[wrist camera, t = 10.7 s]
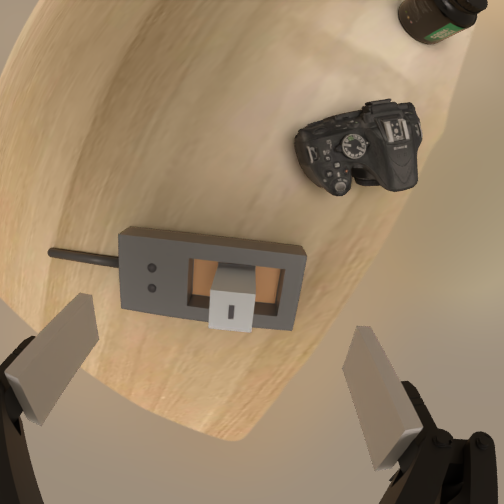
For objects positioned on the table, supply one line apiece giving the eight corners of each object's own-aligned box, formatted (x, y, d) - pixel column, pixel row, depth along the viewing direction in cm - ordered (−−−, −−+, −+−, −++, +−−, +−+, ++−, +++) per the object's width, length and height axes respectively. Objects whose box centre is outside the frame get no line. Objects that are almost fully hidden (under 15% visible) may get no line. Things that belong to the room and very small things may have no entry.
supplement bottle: (432, 54, 27) (490, 30, 15) (389, 22, 26) (437, -18, 14) (446, 24, 25) (498, -3, 13) (406, -7, 24) (449, -46, 12)
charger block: (219, 259, 34) (209, 289, 26) (255, 263, 34) (256, 294, 27) (217, 292, 35) (207, 328, 28) (252, 295, 36) (251, 333, 28)
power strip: (54, 281, 36) (40, 291, 32) (48, 218, 33) (32, 224, 30) (289, 315, 37) (292, 331, 34) (302, 246, 34) (307, 256, 31)
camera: (333, 215, 33) (363, 238, 24) (278, 144, 31) (289, 138, 21) (416, 149, 31) (466, 151, 21) (368, 79, 28) (408, 56, 19)
